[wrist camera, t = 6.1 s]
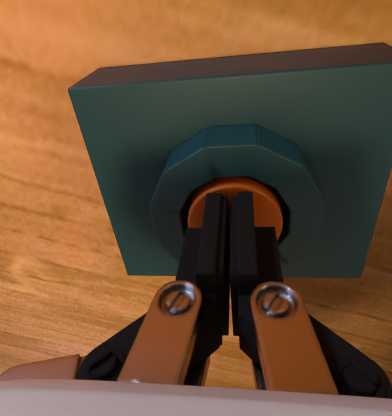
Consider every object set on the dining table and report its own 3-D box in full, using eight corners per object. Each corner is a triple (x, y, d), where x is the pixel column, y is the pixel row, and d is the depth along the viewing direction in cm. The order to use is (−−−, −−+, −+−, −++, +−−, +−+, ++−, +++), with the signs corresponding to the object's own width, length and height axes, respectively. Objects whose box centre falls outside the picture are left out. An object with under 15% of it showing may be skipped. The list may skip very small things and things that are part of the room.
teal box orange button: (385, 42, 13) (453, 74, 9) (344, 236, 18) (373, 309, 14) (97, 68, 14) (42, 104, 10) (141, 237, 20) (117, 303, 16)
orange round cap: (280, 160, 12) (285, 184, 11) (276, 232, 14) (280, 260, 13) (188, 164, 13) (181, 187, 11) (197, 233, 15) (192, 260, 14)
